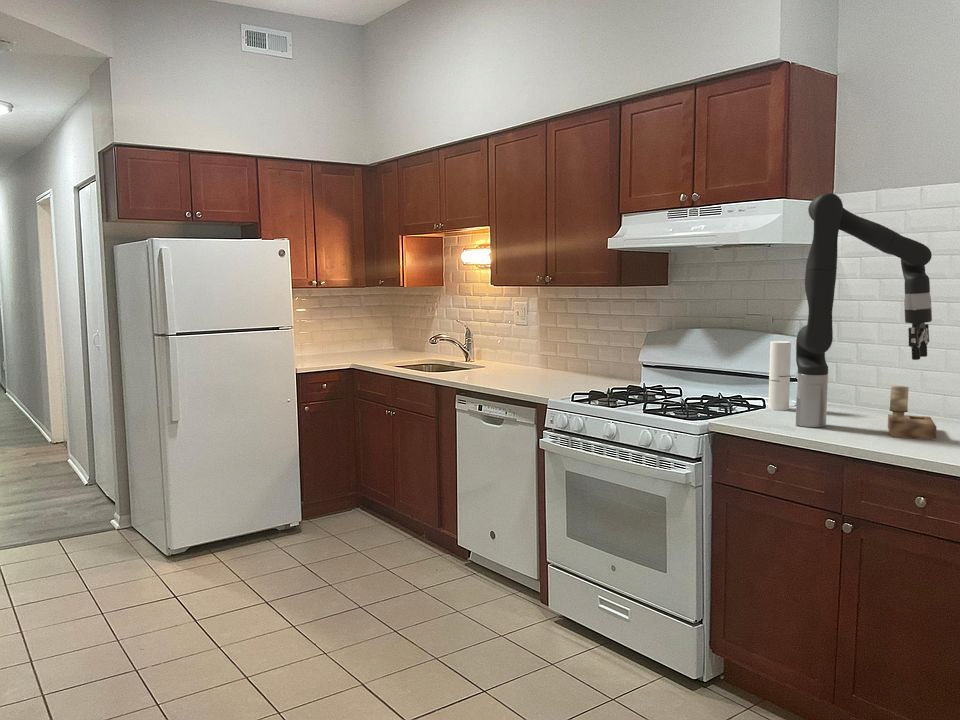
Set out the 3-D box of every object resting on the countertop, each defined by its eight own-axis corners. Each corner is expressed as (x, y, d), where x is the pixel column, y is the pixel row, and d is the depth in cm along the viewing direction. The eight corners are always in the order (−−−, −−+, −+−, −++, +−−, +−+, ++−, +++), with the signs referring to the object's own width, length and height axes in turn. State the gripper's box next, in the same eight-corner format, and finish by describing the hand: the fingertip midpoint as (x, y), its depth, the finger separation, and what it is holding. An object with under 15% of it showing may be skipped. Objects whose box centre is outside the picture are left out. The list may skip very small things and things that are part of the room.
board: (890, 436, 241) (891, 423, 241) (887, 426, 257) (888, 414, 257) (935, 439, 236) (936, 426, 236) (929, 429, 252) (930, 416, 252)
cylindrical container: (790, 410, 288) (792, 342, 286) (769, 410, 290) (772, 342, 287) (786, 407, 295) (789, 341, 293) (766, 406, 297) (768, 341, 294)
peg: (889, 423, 242) (891, 387, 241) (888, 420, 247) (890, 385, 246) (907, 424, 240) (909, 388, 239) (906, 421, 245) (908, 386, 243)
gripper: (911, 306, 258) (912, 355, 259) (898, 309, 247) (900, 360, 249) (936, 305, 253) (938, 355, 254) (925, 308, 242) (927, 360, 244)
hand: (919, 358), depth 251 cm, fingers open, 8 cm apart
